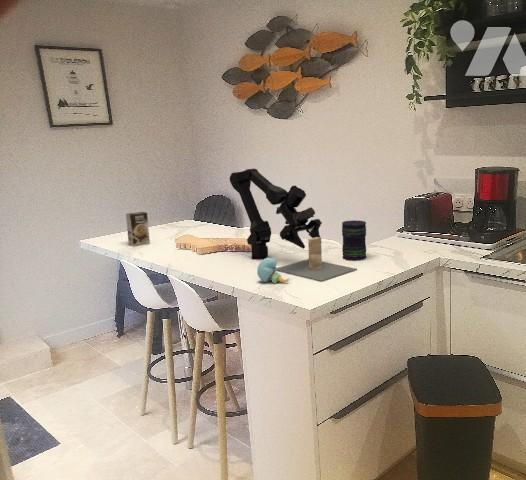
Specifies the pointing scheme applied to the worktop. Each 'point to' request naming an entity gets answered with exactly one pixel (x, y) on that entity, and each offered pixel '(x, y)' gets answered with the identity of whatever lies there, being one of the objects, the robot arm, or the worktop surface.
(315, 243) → the birch tile
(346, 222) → the storage jar
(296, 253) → the worktop surface
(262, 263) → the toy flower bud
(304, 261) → the mat
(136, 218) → the coffee box
